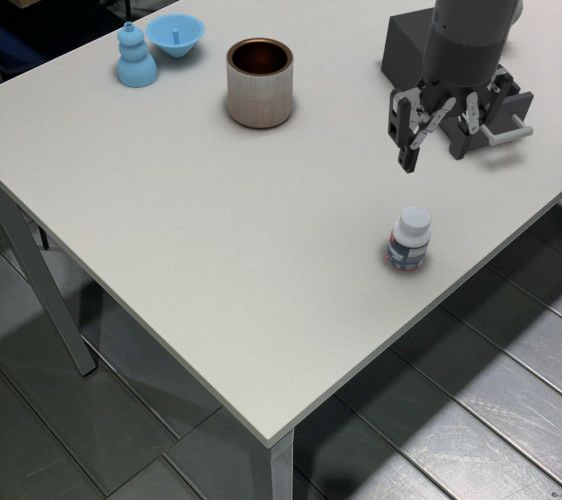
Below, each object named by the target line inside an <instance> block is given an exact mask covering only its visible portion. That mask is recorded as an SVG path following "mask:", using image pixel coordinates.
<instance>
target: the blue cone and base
mask: <svg viewBox="0 0 562 500" xmlns="http://www.w3.org/2000/svg"><path fill="white" fill-rule="evenodd" d="M123 26H124V27H122V28H121V29H120V30H119V31H117V36H116V37H117V41H118V42H119V43H118V51H119V54H120V56H119V58H118V60H117V63H116V64H117V65H116V70H117V75H118V79H119V81H120V82H121V83H122V84H123V85H124V86H127V87H130V88H144V87H147V86H150V85H151V84H153V83H154V82H155V81H157V78H158V69H157V63H156V61H155V59H154V58H153V56H152V55H151V54H150V53H149V52H148V44H147V42H146V41H145V40H144V39H145V37H147V40H149V41H150V42H151V43H153V44H154V45H156V46H157V47H159V48H160V49H161V50H162V51H164V52H166V53H167V54H169V55H170V56H172V57H173V58H177V59H180V58H183V57H184V56H185V55H186V54H188V52H189V51H190V50H191V49H192V48H193V47H194V46H195V45H196V44H197V43H198V42H199V41H200V40H201V39H202V38H203V36H204V34H205V31H206V28H205V25H204V23H203V22H202V20H200V19H199V18H197V17H195V16H193V15H190V14H189V15H188V14H186V13H167V14H163V15H161V16H157V17H155V18H153V19H152V20H151V21H150V22H148V24H147V25H146V26H145V30H144V31H143V30H142V28H140V27H138V26H135V25H134V22H132V21H126V22H125V23H124V24H123Z"/></svg>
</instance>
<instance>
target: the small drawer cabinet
mask: <svg viewBox="0 0 562 500" xmlns="http://www.w3.org/2000/svg"><path fill="white" fill-rule="evenodd" d="M434 7H435V6H433V7H428V8H424V9H423V8H422V9H419V10H413V11H409V12H404V13H399V14H395V15H390V16H389V19H388V25H387V30H386V36H385V43H384V48H383V54H382V60H381V67H380V70H381V72H382V73H383V74H384V76H385V77H386V78H387V80H388V81H389V83H391V84H392V86H393V87H394V89H395V88H399V89H400V90H401V91H402V92H405V91H407V90H410V89H413V88H415V87H416V84H417V82H418V81H419V79H420V78H421V76H422V73H423V55H424V50H425V46H426V41H427V37H428V33H429V28H430V24H431V20H432V15H433V11H434ZM415 104H416V103H415ZM424 112H426V111H425V110H424Z"/></svg>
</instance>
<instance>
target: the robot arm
mask: <svg viewBox="0 0 562 500" xmlns="http://www.w3.org/2000/svg"><path fill="white" fill-rule="evenodd" d="M519 1H520V0H435V3H434V6H433V7H434V11H433V15H432V20H431V24H430V28H429V33H428V37H427V41H426V46H425V50H424V55H423V73H422V76H421V78H420V79H419V81H418V82H417V84H416V87H415V88H413V89H410V90H407V91H405V92H402V91H401V90H400V89H399V88H395V87H394V88H393V89H392V90H391V91H390V94H389V104H388V105H389V106H388V120H387V134H388V136H389V137H390V139H391V140H392V141H393V143H394V144H395V145H396V147H397V148H398V149H399V150H398V151H399V152H398V156H397V162H398V164H399V166H400V168H401V169H402V170H403V171H404V172H405V173H406V175H409V174H412V173H415V170H416V166H417V162H418V159H419V154H420V150H421V147H420V146H421V144H422V143H423V142H424V140H425V139H426V137H427V136H428V135H429V134H433V133H434V131H435V130H436V128H438V126H439V123H440V121H442V120H445V119H447V118H449V117H459V121H460V122H461V123H460V124H456V127H455V130H454V133H453V137H452V139H451V140H450V143H449V146H448V152H449V154H450V156H452V158H453V159H454V160H455V161H456V162H457V161H461V160H463V159H464V157H465V156H466V154H467V153H468V152H469V151H468V149H469V146H470V143H471V140H472V137H473V134H475V133H476V132H477V131H478V130H479V127H480V126H482V125H484V124H485V125H486V126H489V125H491V124H492V123H493V122H494V120H495V118H496V116H497V114H498V111H499V109H500V107H501V105H502V103H503V101H504V99H505V97H506V95H507V93H508V91H509V89H510V86H511V84H512V82H513V80H514V79H515V78H514V77H513V75H512V74H511V73H510V72H509V71H508V70H507V69H506V68H505V67H504V66H503V65H502V64H501V63H500V61H501V58H502V55H503V52H504V49H505V46H506V43H507V40H508V38H509V35H510V31H511V28H512V26H513V25H512V23H513V20H514V17H515V14H516V11H517V8H518V5H519ZM514 81H515V80H514ZM479 96H480V98H479V100H478V97H479ZM477 101H478V102H477ZM415 103H416V104H415ZM488 103H489V104H490V106H489V108H488V110H487V109H486V107H487V105H488ZM424 110H425V111H424ZM425 113H426V114H427V115H428V116H429V118H427V117H426V115H425ZM417 127H418V128H417ZM416 129H417V130H416ZM415 131H416V132H415Z"/></svg>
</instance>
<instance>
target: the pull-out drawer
mask: <svg viewBox="0 0 562 500" xmlns="http://www.w3.org/2000/svg"><path fill="white" fill-rule="evenodd" d="M521 89H522V88H521V86H519V84H518V83H517V82H516V81H515V80H513V82H512V84H511V86H510V89H509V91H508V93H507V95H506V97H505V99H504V101H503V103H502V105H501V107H500V109H499V111H498V114H497V116H496V118H495V120H494V122H493V123H492V124H491V125H489V126H486V125H485V124H484V125H482V126H480V127H479V130H478V131H477V132H476V133H475V134H473V137H472V140H471V143H470V146H469V149H468V151H467V152H469V151H473V150H478V149H481V148H485V147H488V146H491V147H493V146H497V145H501V144H504V143H508V142H512V141H516V140H519V139H523V138H527V137H531V136H532V135H533V134H534V128H533V127H532V126H531V125H528V126H527V125H526V124H525V123H524V121H525V119H526V117H527V115H528V112H529V109H530V107H531V105H532V103H533V99H534V98H535V95H534V94H533V92H531V90H529V91H525V92H522V93H520V92H521ZM479 98H480V96H479V97H478V100H479ZM477 102H478V101H477ZM489 106H490V104H489V103H488V105H487V107H486V109H487V110H488V108H489ZM460 123H461V122H460V121H459V117H449V118H447V119H445V120H442V121H440V123H439V124H438V126H440V127H441V128H442V130H443V131H444V132H445V134H446V135H447V136H448V137H449V139H451V140H452V137H453V133H454V130H455V127H456V124H460Z"/></svg>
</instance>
